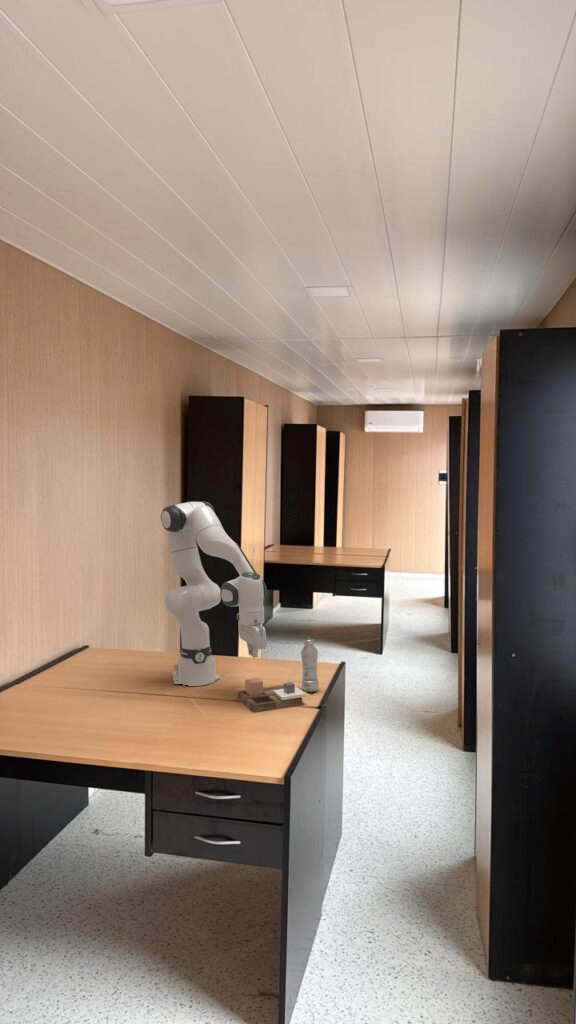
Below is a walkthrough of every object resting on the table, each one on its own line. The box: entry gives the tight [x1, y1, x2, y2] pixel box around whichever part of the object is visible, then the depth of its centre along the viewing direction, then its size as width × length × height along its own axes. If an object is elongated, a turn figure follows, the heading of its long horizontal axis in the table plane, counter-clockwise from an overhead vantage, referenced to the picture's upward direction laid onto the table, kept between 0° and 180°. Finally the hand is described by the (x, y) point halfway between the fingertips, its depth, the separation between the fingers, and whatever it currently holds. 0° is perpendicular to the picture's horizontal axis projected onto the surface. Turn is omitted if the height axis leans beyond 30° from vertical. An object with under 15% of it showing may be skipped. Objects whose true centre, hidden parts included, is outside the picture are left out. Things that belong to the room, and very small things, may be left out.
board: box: [236, 684, 303, 713], centre depth 267 cm, size 18×18×4 cm
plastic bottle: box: [300, 637, 320, 693], centre depth 280 cm, size 6×7×20 cm
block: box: [244, 677, 264, 696], centre depth 270 cm, size 5×5×7 cm
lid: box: [273, 681, 307, 700], centre depth 265 cm, size 9×9×4 cm
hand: (253, 656), depth 269 cm, fingers open, 2 cm apart
